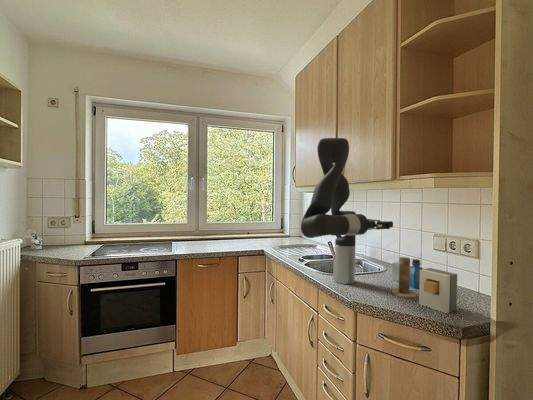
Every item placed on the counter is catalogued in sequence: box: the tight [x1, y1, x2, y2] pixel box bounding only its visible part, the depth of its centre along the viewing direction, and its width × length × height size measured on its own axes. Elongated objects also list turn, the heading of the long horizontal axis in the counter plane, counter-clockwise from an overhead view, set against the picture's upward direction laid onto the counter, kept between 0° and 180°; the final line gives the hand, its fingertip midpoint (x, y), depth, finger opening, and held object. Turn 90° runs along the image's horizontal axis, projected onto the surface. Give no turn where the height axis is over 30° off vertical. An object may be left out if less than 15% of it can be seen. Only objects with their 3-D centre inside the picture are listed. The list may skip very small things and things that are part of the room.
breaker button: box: [424, 280, 439, 294], centre depth 108 cm, size 3×4×3 cm
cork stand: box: [391, 288, 417, 299], centre depth 124 cm, size 9×9×1 cm
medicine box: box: [391, 261, 399, 283], centre depth 146 cm, size 8×4×9 cm, turn 126°
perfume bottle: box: [409, 258, 424, 290], centre depth 136 cm, size 6×6×12 cm
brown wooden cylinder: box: [398, 256, 411, 294], centre depth 124 cm, size 4×4×14 cm
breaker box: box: [418, 267, 458, 314], centre depth 110 cm, size 10×6×13 cm, turn 29°
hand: (382, 223), depth 115 cm, fingers open, 8 cm apart
